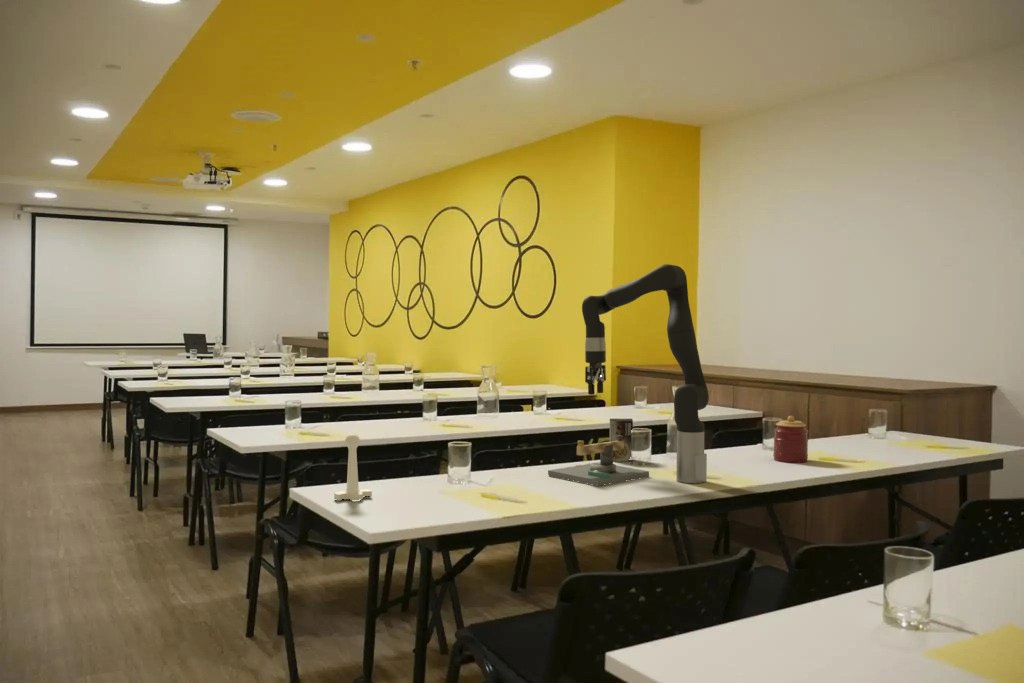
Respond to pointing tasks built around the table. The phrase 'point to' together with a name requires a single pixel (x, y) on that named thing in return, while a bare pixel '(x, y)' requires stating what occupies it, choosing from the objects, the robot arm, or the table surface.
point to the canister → (790, 441)
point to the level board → (598, 474)
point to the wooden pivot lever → (602, 453)
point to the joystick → (352, 473)
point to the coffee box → (623, 429)
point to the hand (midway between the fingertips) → (595, 393)
